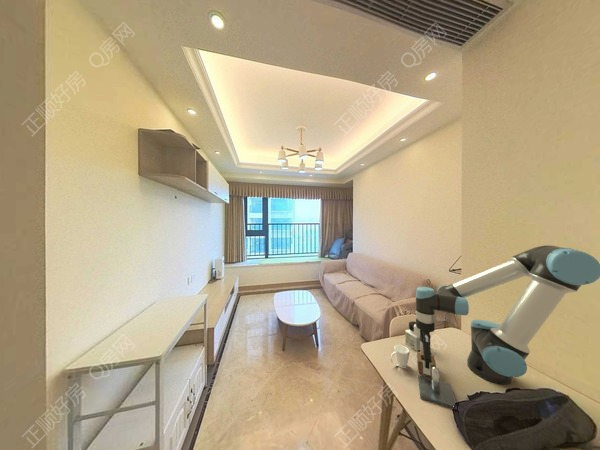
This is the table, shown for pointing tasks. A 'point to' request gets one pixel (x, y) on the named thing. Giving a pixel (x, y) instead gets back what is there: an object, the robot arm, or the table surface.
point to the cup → (401, 355)
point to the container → (413, 336)
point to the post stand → (436, 390)
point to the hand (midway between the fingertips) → (425, 364)
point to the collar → (420, 363)
